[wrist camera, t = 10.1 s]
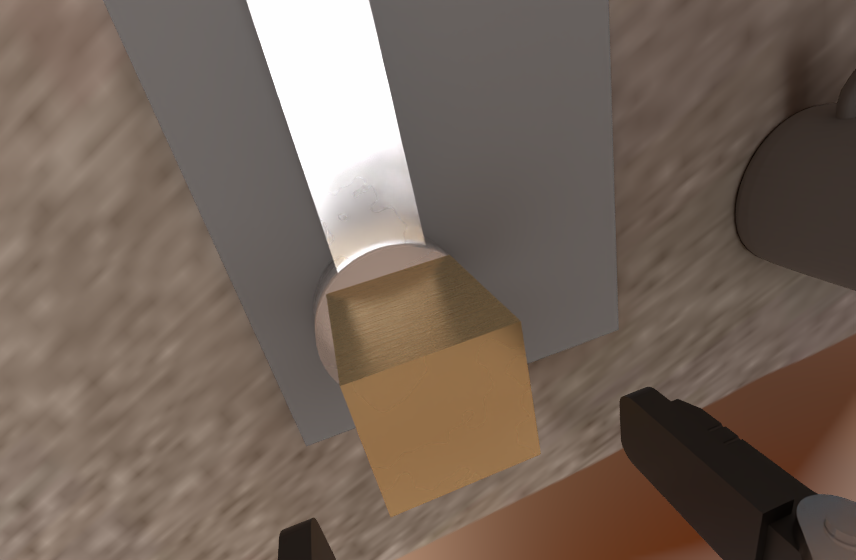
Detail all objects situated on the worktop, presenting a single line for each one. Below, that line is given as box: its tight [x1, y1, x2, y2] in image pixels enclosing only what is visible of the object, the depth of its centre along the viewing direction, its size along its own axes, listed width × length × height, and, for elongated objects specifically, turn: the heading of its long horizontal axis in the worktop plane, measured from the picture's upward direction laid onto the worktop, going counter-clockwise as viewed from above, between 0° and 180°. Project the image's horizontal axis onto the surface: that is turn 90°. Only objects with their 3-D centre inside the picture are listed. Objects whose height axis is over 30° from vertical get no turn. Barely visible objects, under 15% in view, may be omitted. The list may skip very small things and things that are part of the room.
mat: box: [103, 0, 619, 446], centre depth 19 cm, size 18×20×1 cm
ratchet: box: [247, 0, 449, 384], centre depth 15 cm, size 7×16×6 cm, turn 13°
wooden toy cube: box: [326, 255, 541, 517], centre depth 15 cm, size 5×5×6 cm
